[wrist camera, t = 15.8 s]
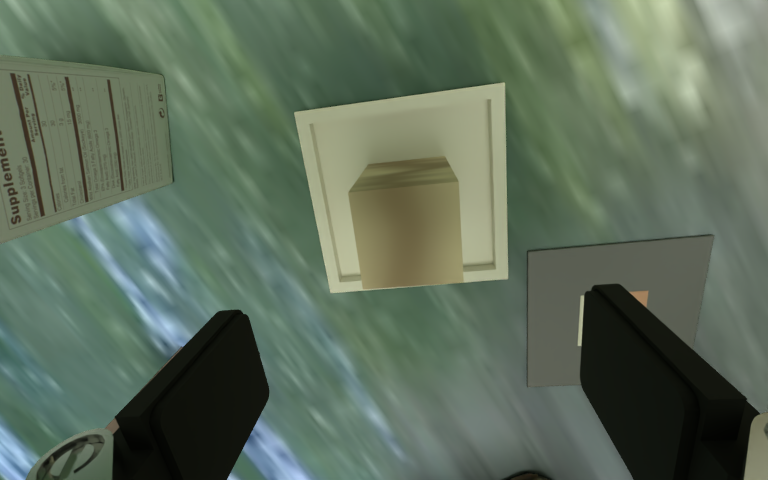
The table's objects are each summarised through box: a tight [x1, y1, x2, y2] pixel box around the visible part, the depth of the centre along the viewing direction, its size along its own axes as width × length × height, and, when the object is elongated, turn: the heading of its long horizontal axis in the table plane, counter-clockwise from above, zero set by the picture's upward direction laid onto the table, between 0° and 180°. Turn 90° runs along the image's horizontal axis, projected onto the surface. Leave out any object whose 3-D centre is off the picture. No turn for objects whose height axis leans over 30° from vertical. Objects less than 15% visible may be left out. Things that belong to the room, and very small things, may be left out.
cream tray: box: [294, 82, 508, 293], centre depth 25 cm, size 13×13×2 cm
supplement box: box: [0, 55, 173, 244], centre depth 19 cm, size 7×7×13 cm
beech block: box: [348, 156, 464, 289], centre depth 21 cm, size 5×5×8 cm
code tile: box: [527, 235, 714, 387], centre depth 27 cm, size 12×12×1 cm
